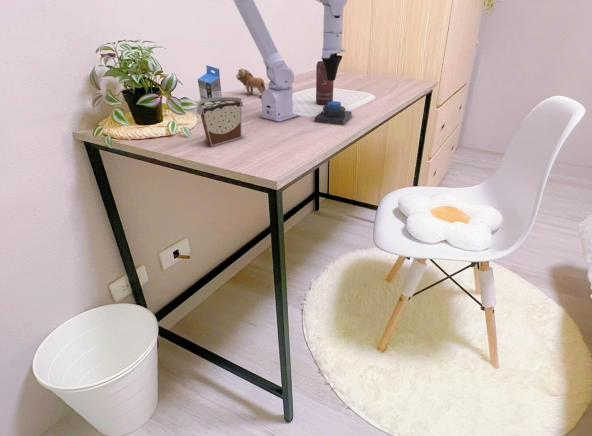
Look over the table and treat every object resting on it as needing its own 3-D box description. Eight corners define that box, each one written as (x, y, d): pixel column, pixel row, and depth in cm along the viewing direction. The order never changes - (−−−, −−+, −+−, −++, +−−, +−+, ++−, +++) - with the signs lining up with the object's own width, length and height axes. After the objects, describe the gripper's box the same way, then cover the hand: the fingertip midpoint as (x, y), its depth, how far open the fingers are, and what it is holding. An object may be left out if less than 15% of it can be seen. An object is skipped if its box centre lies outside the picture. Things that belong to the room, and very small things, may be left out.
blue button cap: (338, 111, 113) (338, 104, 112) (326, 109, 114) (326, 103, 113) (341, 108, 116) (342, 102, 115) (329, 106, 117) (329, 100, 116)
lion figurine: (235, 94, 141) (233, 68, 136) (244, 91, 145) (242, 67, 140) (266, 99, 135) (265, 73, 131) (275, 96, 139) (274, 71, 135)
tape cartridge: (200, 104, 126) (194, 65, 119) (211, 102, 128) (206, 64, 122) (213, 110, 120) (208, 69, 114) (224, 108, 123) (219, 68, 116)
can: (333, 106, 131) (334, 63, 123) (315, 105, 131) (315, 62, 123) (333, 101, 136) (335, 61, 129) (316, 101, 136) (317, 60, 129)
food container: (231, 131, 102) (227, 94, 97) (246, 136, 99) (242, 98, 94) (191, 141, 94) (185, 101, 89) (206, 147, 90) (200, 106, 85)
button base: (343, 125, 111) (343, 113, 109) (314, 122, 113) (314, 110, 111) (351, 116, 120) (352, 105, 118) (325, 113, 122) (325, 102, 120)
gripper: (339, 35, 103) (337, 85, 110) (351, 31, 115) (348, 77, 122) (315, 33, 105) (315, 83, 112) (329, 30, 117) (328, 75, 124)
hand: (331, 80), depth 117 cm, fingers closed
